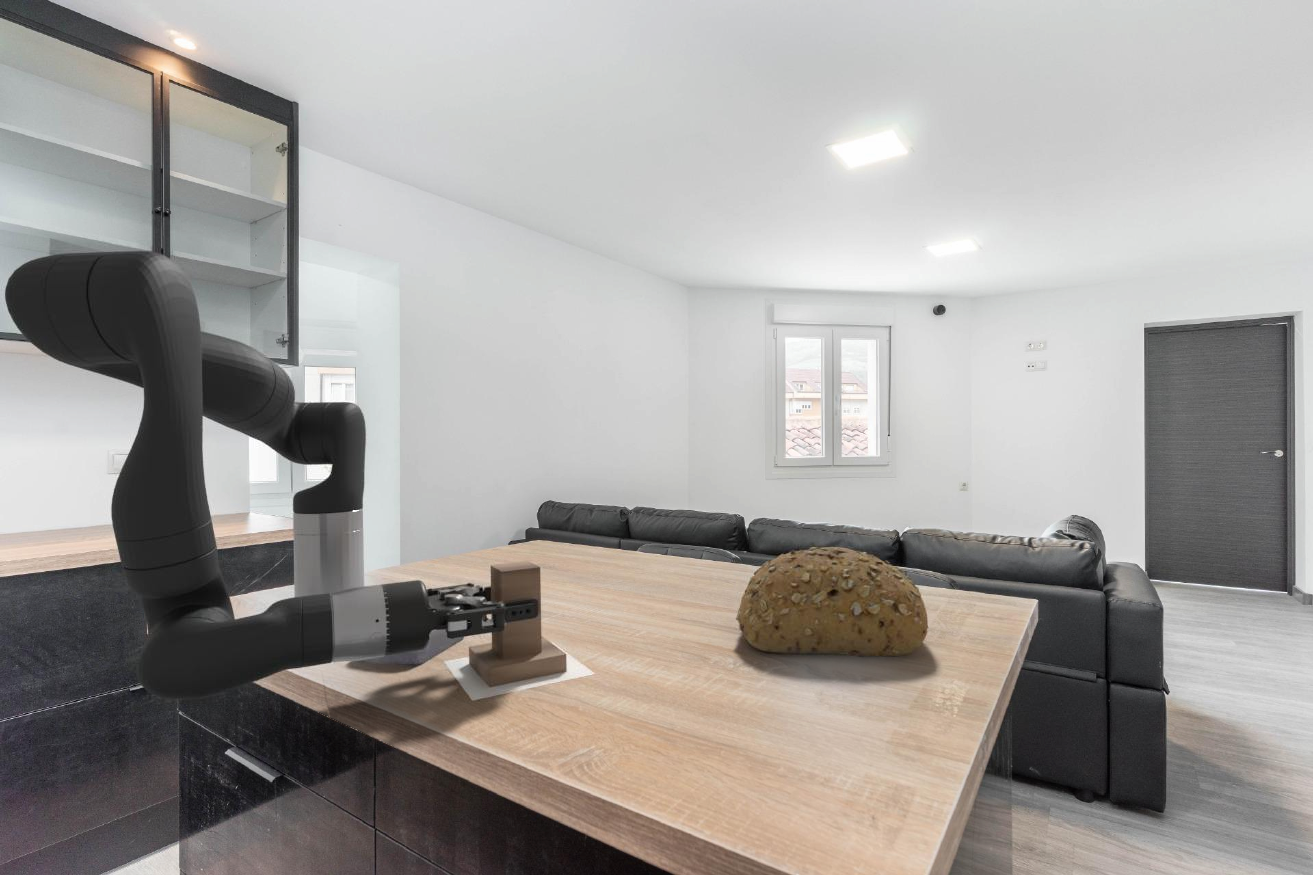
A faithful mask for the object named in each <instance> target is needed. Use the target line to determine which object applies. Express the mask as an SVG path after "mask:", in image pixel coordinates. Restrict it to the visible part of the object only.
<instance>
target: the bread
mask: <svg viewBox="0 0 1313 875" xmlns="http://www.w3.org/2000/svg"><path fill="white" fill-rule="evenodd" d="M736 613H737V614H736V617H735V621H738V626H739V630H740V631H741V633H742V635H743V636H744V638H745V639H746V641H747V642H748V643H749V645H751V646H752V647H753V648H755V649H757V650H759V651H762V652H763V651H764V652H769V653H775V654H776V653H777V654H809V655H811V654H820V655H827V654H828V655H849V656H857V657H870V656H871V657H899V656H906V655H908V654H910V653H912V652H914V651H916V650H918V648H920V647H921V645H922V644H923V643H924V641H925V640H926V637H927V634H928V629H929V625H928V624H929V623H928V613H927V610H926V607H925V603H924V600H923V597H922V594H921V592H920V588H919V587H917V586H916V584H915V583H914V582H913V581H912V580H911V577H909V576H907V575H905V574H904V571H903V569H901V568H900V567H898V566H894V565H892V564H891V563H890V562H889V561H888V560H885V561H883V560H882V559H880V558H878V557H877V556H875V555H874V554H869V553H868V552H865V551H863V552H862V551H859V550H853V549H850V548H846V547H840V546H836V547H835V546H829V547H828V546H825V547H823V546H822V547H820V546H819V547H818V546H817V547H815V546H813V547H809V549H800V550H798V551H797V550H796V551H795V549H793V550H791V551H789V552H788V553H786V554H784V553H781V554H780V555H777V557H776V558H775V557H774V558H773V559H771V560H770V561H769V560H767V561H765V562H764V564H762V566H760V567H759V568H758V569H757V570H755V571H754V572H753V576H750V579H749V581H748V584H747V586H746V589H745V590H744V594H742V597H741V600H740V604H739V608H738V610H737V612H736Z"/></svg>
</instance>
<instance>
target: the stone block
mask: <svg viewBox="0 0 1313 875" xmlns="http://www.w3.org/2000/svg"><path fill="white" fill-rule="evenodd" d="M464 638H465V637H458V638H454V639H451V638H447V632H445V630H432V631H431V633H430V634H429V643H428V645H427V647H426V648H425V649H423V650H418V651H412V652H407V653H401V654H395V655H389V656H383V657H377V658H371V659H366V660H362V661H363V662H365V663H371V664H399V665H415V666H417V665H422V664H425V663H427V662H428V661H430V660H432V659H433V658H436V656H439V655H440V654H441V653H443V652H444V651H446V650H448V649H449V648H451V647H452V646H454V645H456V644H457V643H459V642H461V641H463V639H464Z"/></svg>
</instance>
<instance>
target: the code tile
mask: <svg viewBox="0 0 1313 875" xmlns="http://www.w3.org/2000/svg"><path fill="white" fill-rule="evenodd" d="M550 642H551V643H552V644H553V645H555V646H556V647H558V648H559V649H560V650H562V651H563V652H564V653H566V663H567V671H565V672H560V673H556V674H551V675H546V676H541V677H537V678H532V679H527V680H522V681H517V682H513V683H508V684H503V685H498V686H494V687H489V686H488V685H487V684H486V682H485V681H484V680H483V679H482V678H481V677H480V675H479V674H478V673H477V672H476V671H475V670H474V668H473V667H472V666H471V665H470V664H469V656H467V657H462V658H456V659H450V660H444V661H443V663H444V665H445V666H446V667H447V668H448V669H449V671H450V672H451V675H452V676H454V678H455V679H456V680H457V682H458V683H459V685H460V686H461V688H462V689H463V690H464V691H465V692H466V695H468V697H469V698H470V699H471V701H472V702H473V701H477V700H482V699H486V698H491V697H495V696H496V697H497V696H500V695H504V694H509V693H513V692H518V691H524V690H527V689H531V688H533V689H534V688H537V687H541V686H546V685H551V684H554V683H560V682H564V681H569V680H573V679H578V678H582V677H587V676H593V675H596V673H595V672H593V671H592V670H591V669H589V668H588V667H587V666H585V665H584V664H582V663H581V662H579V660H577V659H576V658H574V657H573V656H572V655H570V654H569V653H567V652H566V651H565V650H563V649H562V648H561V647H559V646H558V645H556V644H555V643H554V642H553V641H550Z"/></svg>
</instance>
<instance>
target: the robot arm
mask: <svg viewBox="0 0 1313 875" xmlns="http://www.w3.org/2000/svg"><path fill="white" fill-rule="evenodd" d="M4 297H5V298H4V300H5V303H6V309H7V311H8V313H9V315H10V318H11V319H12V321H13V323H14V325H15V326H16V328H17V329H18V330H19V331H20V333H21V334H22V335H23V337H25V339H27V341H29V342H30V343H31V344H32V345H33V346H34V347H35V348H37V349H38V350H39V351H41V352H42V353H43V354H45V355H47V356H49V357H51V358H53V359H54V360H56V361H58V362H61V363H63V364H66V365H69V366H71V367H72V366H73V367H76V368H78V369H81V370H85V371H89V372H92V373H96V374H98V375H102V376H106V377H109V378H112V379H115V380H118V381H121V382H125V383H128V384H131V385H134V386H137V387H139V388H141V389H143V408H142V409H143V410H142V413H141V414H142V416H141V419H140V422H139V426H138V430H137V434H136V436H135V438H134V440H133V442H132V445H131V448H130V450H129V453H128V454H127V455H126V459H125V461H124V463H123V465H122V467H121V470H120V472H119V475H118V477H117V479H116V481H115V486H114V489H113V493H112V497H111V498H112V499H111V506H110V507H111V508H110V510H111V523H112V528H113V529H112V530H113V532H114V533H113V534H114V536H115V537H114V538H115V542H116V546H117V552H118V555H119V560H120V563H121V569H122V572H123V576H124V580H125V581H126V585H127V586H128V588H129V590H130V591H131V592H132V593H133V594H135V595H136V596H139V597H140V600H141V604H142V607H143V611H144V616H145V621H146V626H147V638H146V640H145V642H144V645H143V647H142V649H141V651H140V653H139V656H138V659H137V663H136V677H137V679H138V682H139V683H140V685H141V687H142V688H144V690H145V691H146V692H148V693H149V694H151V695H153V696H155V697H157V698H161V699H166V700H173V701H174V700H175V701H176V700H177V701H184V700H185V701H186V700H197V699H202V698H207V697H208V698H209V697H212V696H215V695H219V694H222V693H224V692H227V691H232V690H234V689H237V688H239V687H240V688H241V687H244V686H245V685H249V684H252V683H254V682H257V681H261V680H263V679H265V678H268V677H270V676H272V675H275V674H277V673H280V672H283V671H286V670H294V669H302V668H310V667H314V666H320V665H327V664H331V663H332V662H333V663H339V662H341V663H343V662H358V661H363V660H366V659H371V658H377V657H383V656H389V655H395V654H401V653H407V652H412V651H418V650H423V649H425V648H426V647H427V645H428V643H429V634H430V633H431V631H432V630H445V632H447V638H451V639H454V638H458V637H464V638H465V637H471V636H478V635H485V634H492V632H501V631H504V630H505V625H506V623H508V622H514V621H520V620H526V619H533V618H536V617H537V616H538V600H537V599H535V598H525V599H518V600H511V601H504V602H502V601H498V602H494V601H491V585H490V586H483V585H480V584H476V585H475V583H472V582H467V583H465V584H457V585H450V586H449V585H448V586H443V587H436V588H435V587H434V588H427V586H426V585H425V583H424V582H423V581H422V580H419V579H416V580H407V581H400V582H392V583H391V582H390V583H382V584H372V585H366V586H365V559H364V558H365V554H364V552H365V549H364V546H365V544H364V509H363V508H364V492H365V469H366V468H365V467H366V466H365V462H366V446H367V445H366V444H367V438H366V436H367V430H366V429H367V428H366V420H365V416H364V413H363V411H362V409H361V408H360V406H359V405H357V404H356V403H354V402H350V401H349V402H347V401H329V402H327V401H324V402H323V401H322V402H321V401H319V402H310V401H309V402H299V401H295V400H296V390H295V385H294V383H293V381H292V379H291V377H290V376H289V374H288V373H287V372H286V371H285V369H284V368H282V367H281V366H280V365H279V364H278V363H276V362H275V361H274V360H272V359H270V358H269V357H268V356H266V355H264V354H263V353H262V352H260V351H258V350H257V349H256V348H254V347H252V346H249V345H248V344H246V343H243V342H241V341H238V340H235V339H232V338H228V337H224V336H221V335H218V334H214V333H210V332H207V331H202V330H201V323H200V322H201V320H200V313H199V312H200V311H199V307H198V301H197V298H196V294H195V292H194V289H193V287H192V285H191V282H190V280H189V278H188V277H187V275H186V273H185V272H184V271H183V269H182V268H181V267H180V266H179V265H178V264H177V263H176V262H175V261H173V259H171V258H169V257H168V256H166V255H164V254H162V253H159V252H155V251H148V250H147V251H145V250H131V251H130V250H129V251H127V250H126V251H100V252H99V251H98V252H96V251H95V252H73V253H72V252H71V253H67V252H65V253H58V254H53V255H52V254H51V255H47V256H42V257H36V258H35V259H31V260H29V261H27V262H25V263H23V264H22V265H20V266H19V267H17V268H16V269H15V270H13V273H11V275H10V276H9V277H8V280H7V283H6V285H5V290H4ZM203 417H205V418H207V419H209V420H210V421H213V422H215V423H217V424H220V425H222V426H224V427H226V428H229V429H231V430H234V431H237V432H238V433H241V434H244V435H246V436H248V437H250V438H252V439H255V440H257V441H260V442H262V443H263V444H264V445H266V446H268V448H270V449H272V450H274V452H276V453H277V454H279V455H280V456H282V457H283V458H284V459H286V460H288V461H290V462H292V463H295V464H299V465H305V466H306V465H307V466H308V465H309V466H312V465H314V466H317V465H331V470H330V474H329V475H328V477H327V478H325V479H324V480H323V481H321V482H319V483H318V484H316V485H314V486H310V487H308V488H305V489H302V490H300V491H297V492H296V493H295V494H294V495H293V497H292V511H293V512H292V521H293V522H292V523H293V525H292V529H293V530H292V532H293V580H294V582H293V583H294V588H293V589H294V590H293V592H294V597H289V598H284V599H281V600H277V601H275V602H273V603H272V604H271V605H269V606H268V607H267V609H266V610H264V611H263V612H261V613H257V614H253V615H249V616H245V617H241V618H235V613H234V609H233V604H232V602H231V597H230V595H229V592H228V589H227V586H226V583H225V580H224V577H223V575H222V572H221V570H220V565H219V564H220V563H219V552H218V546H217V540H216V535H215V531H214V526H213V521H212V515H211V510H210V506H209V505H210V504H209V501H208V495H207V488H206V480H205V479H206V478H205V469H204V468H205V467H204V456H203V455H204V453H203V452H204V451H203V450H204V449H203V448H204V447H203V442H204V441H203V436H204V435H203V432H204V430H203V429H204V428H203V425H204V424H203V422H204V420H203V419H204V418H203ZM491 614H493V619H491V618H488V615H491Z"/></svg>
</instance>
